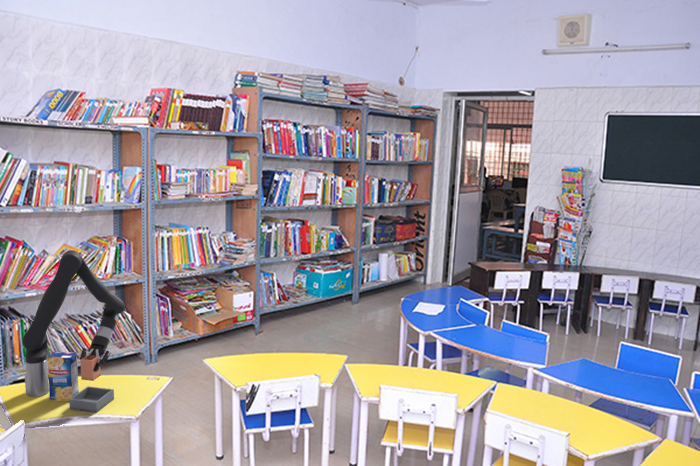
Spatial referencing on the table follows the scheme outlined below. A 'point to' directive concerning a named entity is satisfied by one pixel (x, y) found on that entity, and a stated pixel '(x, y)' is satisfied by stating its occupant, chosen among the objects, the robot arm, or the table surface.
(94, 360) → the orange square cup
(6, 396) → the table surface
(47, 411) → the table surface
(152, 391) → the table surface
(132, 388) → the table surface
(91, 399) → the charcoal crate
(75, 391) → the blue food box
